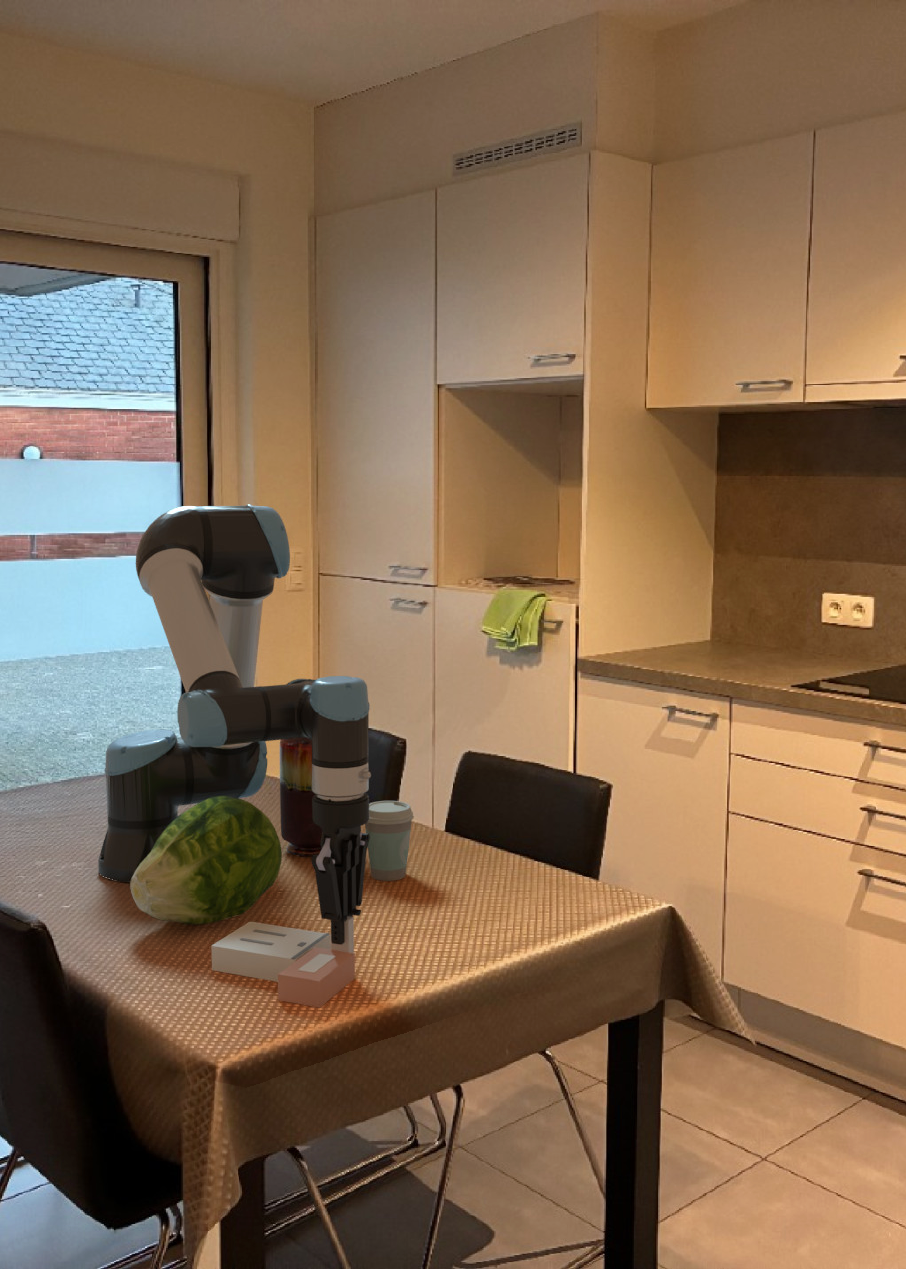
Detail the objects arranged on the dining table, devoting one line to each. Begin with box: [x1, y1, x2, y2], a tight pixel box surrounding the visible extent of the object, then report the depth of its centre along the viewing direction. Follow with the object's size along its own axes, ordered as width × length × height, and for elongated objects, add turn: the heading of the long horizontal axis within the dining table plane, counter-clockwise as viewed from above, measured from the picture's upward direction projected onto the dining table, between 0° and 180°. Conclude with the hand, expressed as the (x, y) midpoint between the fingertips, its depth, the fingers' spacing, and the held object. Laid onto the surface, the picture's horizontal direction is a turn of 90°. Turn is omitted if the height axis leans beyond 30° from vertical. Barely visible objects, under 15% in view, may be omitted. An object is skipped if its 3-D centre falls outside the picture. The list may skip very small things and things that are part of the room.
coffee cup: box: [364, 800, 415, 882], centre depth 210 cm, size 9×8×12 cm
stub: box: [277, 947, 356, 1009], centre depth 164 cm, size 6×10×4 cm, turn 158°
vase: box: [279, 737, 322, 858], centre depth 224 cm, size 11×11×26 cm
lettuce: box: [129, 796, 283, 926], centre depth 189 cm, size 19×23×18 cm
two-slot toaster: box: [210, 921, 331, 983], centre depth 172 cm, size 13×10×4 cm
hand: (342, 963), depth 169 cm, fingers closed
